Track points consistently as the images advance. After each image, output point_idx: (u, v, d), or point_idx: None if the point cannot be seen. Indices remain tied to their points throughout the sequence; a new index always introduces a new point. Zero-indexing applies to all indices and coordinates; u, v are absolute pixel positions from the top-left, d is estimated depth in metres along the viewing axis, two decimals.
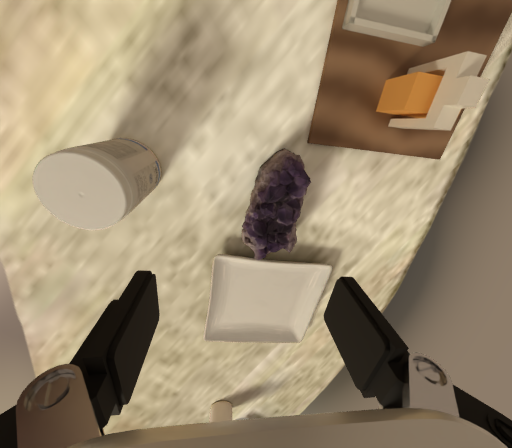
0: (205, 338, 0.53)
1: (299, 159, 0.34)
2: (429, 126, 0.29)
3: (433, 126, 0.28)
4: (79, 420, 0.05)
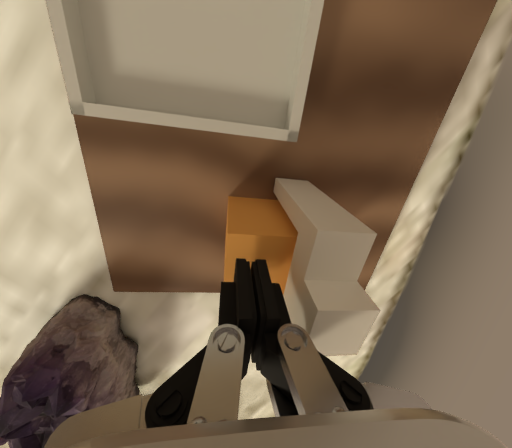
0: None
1: (74, 343, 0.18)
2: None
3: None
4: (232, 379, 0.06)
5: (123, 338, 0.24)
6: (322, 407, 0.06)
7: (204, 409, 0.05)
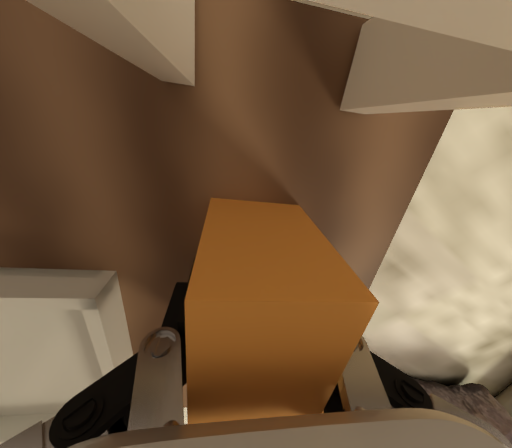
0: None
1: None
2: None
3: None
4: (172, 379, 0.06)
5: None
6: (367, 405, 0.06)
7: (144, 421, 0.05)
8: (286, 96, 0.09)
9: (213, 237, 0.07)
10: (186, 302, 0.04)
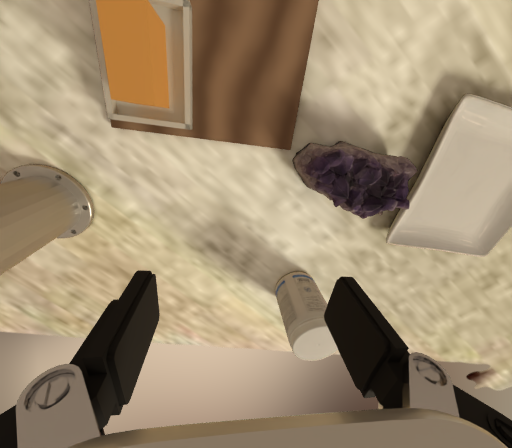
0: (483, 255, 0.47)
1: (310, 154, 0.31)
2: None
3: None
4: (79, 420, 0.05)
5: None
6: None
7: None
8: None
9: None
10: None
